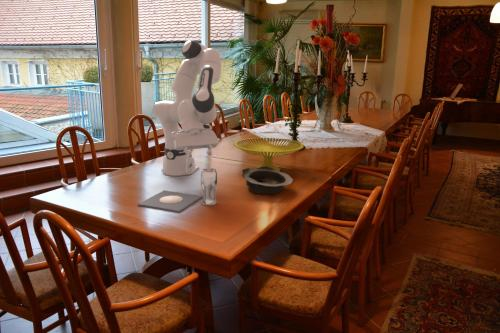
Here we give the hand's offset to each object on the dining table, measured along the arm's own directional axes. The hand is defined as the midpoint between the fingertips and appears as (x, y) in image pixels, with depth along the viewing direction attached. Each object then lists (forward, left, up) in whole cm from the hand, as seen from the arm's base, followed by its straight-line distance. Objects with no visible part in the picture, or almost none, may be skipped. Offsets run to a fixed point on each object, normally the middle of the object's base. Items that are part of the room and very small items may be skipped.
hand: (200, 155), depth 179 cm
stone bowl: (-19, +26, -19) cm, 37 cm away
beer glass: (+9, +9, -19) cm, 22 cm away
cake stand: (-54, +15, -19) cm, 59 cm away
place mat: (+14, -7, -18) cm, 24 cm away
